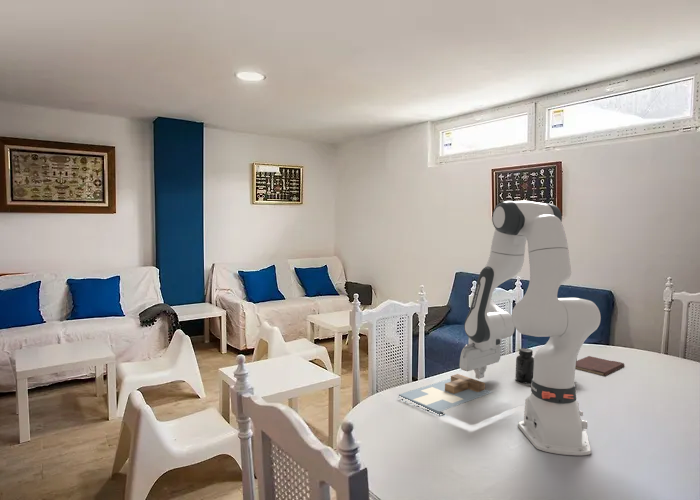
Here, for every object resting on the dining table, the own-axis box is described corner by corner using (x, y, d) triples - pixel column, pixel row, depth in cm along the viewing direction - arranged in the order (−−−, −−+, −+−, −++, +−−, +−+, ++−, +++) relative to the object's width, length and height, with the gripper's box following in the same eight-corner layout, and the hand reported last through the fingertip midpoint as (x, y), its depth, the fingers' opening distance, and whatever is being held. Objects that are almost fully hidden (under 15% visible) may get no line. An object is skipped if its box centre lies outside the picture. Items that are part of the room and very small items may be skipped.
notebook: (567, 367, 197) (567, 363, 197) (587, 359, 210) (588, 354, 210) (604, 377, 186) (605, 372, 185) (624, 367, 198) (624, 363, 198)
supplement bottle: (537, 383, 176) (538, 352, 175) (518, 383, 176) (519, 352, 175) (530, 377, 183) (531, 347, 182) (512, 377, 183) (513, 347, 182)
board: (452, 381, 177) (452, 377, 177) (492, 396, 163) (492, 391, 163) (399, 398, 160) (399, 394, 159) (439, 416, 145) (439, 411, 145)
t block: (457, 380, 174) (457, 373, 174) (484, 389, 165) (484, 382, 165) (436, 387, 167) (436, 380, 167) (463, 397, 157) (463, 390, 157)
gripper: (470, 347, 163) (469, 386, 164) (504, 338, 176) (503, 374, 177) (455, 343, 168) (454, 381, 169) (490, 335, 180) (488, 370, 181)
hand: (479, 377), depth 173 cm, fingers closed
